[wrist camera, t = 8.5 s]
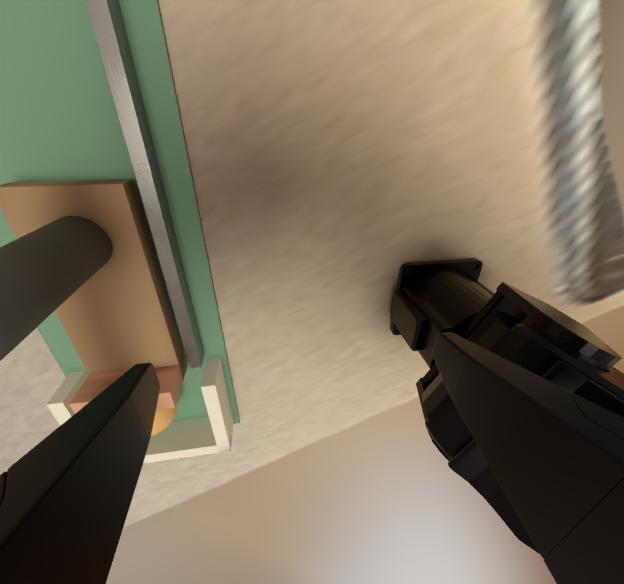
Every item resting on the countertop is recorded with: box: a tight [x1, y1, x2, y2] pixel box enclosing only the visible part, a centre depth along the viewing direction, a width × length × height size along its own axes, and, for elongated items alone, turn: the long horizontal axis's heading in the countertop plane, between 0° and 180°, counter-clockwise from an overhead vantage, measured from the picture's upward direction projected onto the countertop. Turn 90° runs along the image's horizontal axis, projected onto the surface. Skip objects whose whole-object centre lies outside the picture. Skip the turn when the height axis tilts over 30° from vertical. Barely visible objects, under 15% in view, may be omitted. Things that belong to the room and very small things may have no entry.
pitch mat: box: [0, 0, 240, 424], centre depth 19 cm, size 12×32×1 cm, turn 0°
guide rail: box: [85, 0, 205, 368], centre depth 17 cm, size 1×24×2 cm, turn 0°
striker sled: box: [0, 179, 188, 413], centre depth 15 cm, size 6×14×10 cm, turn 0°
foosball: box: [151, 401, 178, 436], centre depth 23 cm, size 4×4×4 cm
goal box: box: [46, 357, 233, 463], centre depth 24 cm, size 11×8×3 cm
